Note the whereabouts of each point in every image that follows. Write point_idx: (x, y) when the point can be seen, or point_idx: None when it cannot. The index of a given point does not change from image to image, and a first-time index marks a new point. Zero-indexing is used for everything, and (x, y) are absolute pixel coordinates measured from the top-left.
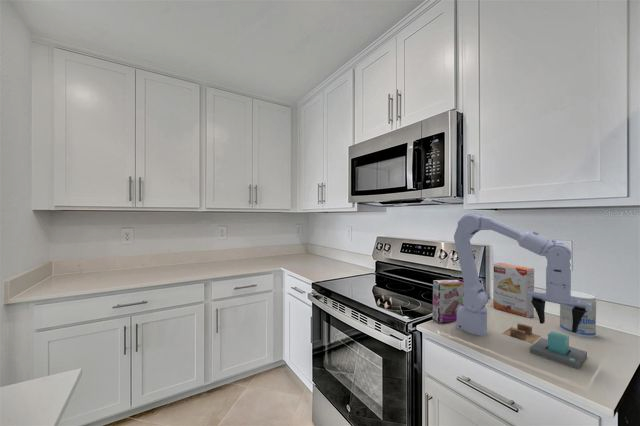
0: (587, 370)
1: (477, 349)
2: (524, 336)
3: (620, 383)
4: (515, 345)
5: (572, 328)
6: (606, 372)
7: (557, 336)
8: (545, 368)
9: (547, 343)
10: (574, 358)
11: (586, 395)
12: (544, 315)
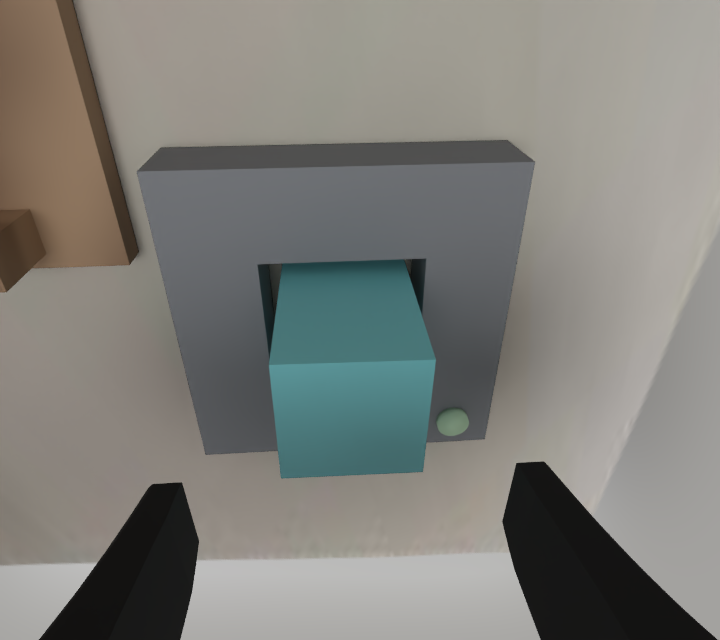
0: (510, 323)
1: (22, 554)
2: (24, 253)
3: (654, 336)
4: (67, 342)
5: (521, 579)
6: (609, 253)
7: (356, 457)
8: None
9: (242, 277)
10: (460, 384)
11: None
12: (143, 573)
